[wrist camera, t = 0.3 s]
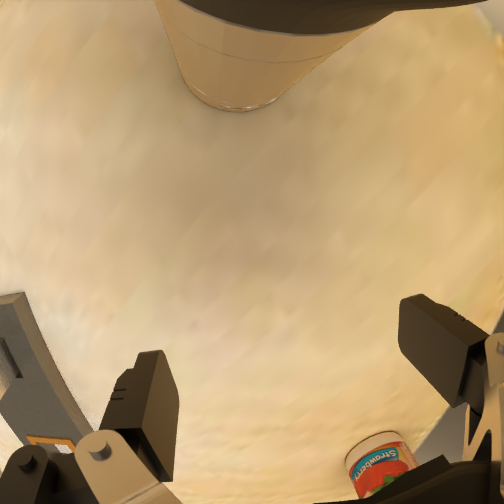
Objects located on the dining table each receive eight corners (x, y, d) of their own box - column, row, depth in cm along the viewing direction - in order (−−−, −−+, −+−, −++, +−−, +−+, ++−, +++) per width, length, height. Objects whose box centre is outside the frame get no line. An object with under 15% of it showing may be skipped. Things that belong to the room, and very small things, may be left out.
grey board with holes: (-42, 304, 25) (-55, 313, 22) (24, 292, 26) (11, 303, 23) (54, 465, 33) (50, 477, 31) (120, 469, 34) (118, 484, 32)
